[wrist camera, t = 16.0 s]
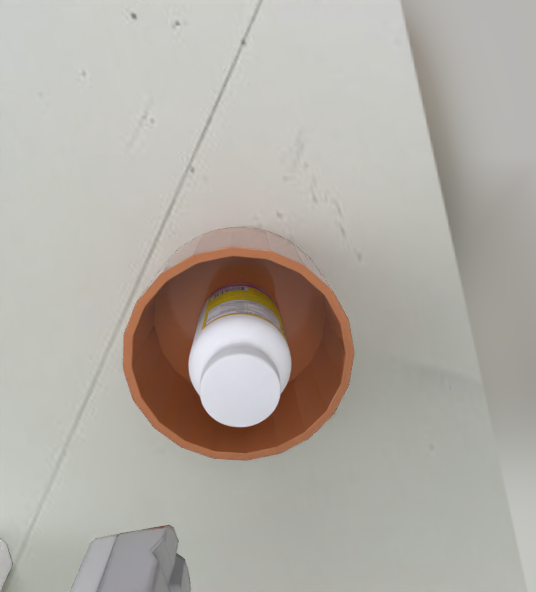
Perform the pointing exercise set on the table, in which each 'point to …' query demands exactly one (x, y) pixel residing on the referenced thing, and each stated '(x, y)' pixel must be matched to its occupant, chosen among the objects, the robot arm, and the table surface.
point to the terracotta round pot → (182, 326)
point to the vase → (4, 563)
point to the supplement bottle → (239, 355)
